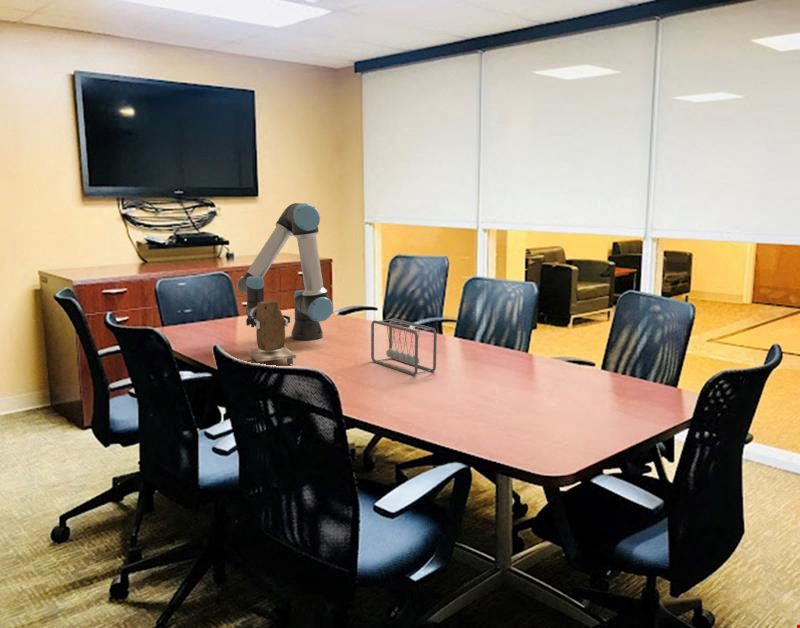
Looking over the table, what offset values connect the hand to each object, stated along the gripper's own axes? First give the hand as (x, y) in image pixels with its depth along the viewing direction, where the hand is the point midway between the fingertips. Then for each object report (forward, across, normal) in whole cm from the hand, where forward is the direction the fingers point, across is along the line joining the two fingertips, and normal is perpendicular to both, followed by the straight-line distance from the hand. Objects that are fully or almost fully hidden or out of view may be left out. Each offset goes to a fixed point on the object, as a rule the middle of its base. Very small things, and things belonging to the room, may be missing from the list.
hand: (273, 324), depth 276 cm
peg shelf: (-4, 0, -17) cm, 17 cm away
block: (-4, 0, -11) cm, 12 cm away
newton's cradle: (+23, -47, -17) cm, 55 cm away
